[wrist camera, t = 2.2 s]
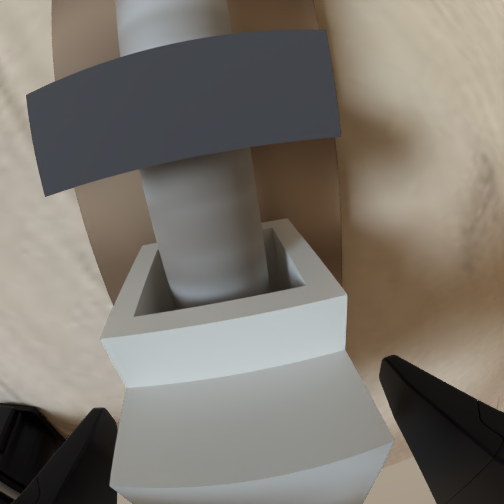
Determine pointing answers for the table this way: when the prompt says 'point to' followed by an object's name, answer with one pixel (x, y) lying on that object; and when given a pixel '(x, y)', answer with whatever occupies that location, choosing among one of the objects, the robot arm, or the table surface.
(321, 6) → the table surface
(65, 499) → the robot arm
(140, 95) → the dark square collar
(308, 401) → the sleeve
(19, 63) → the table surface
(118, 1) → the pipe rig
